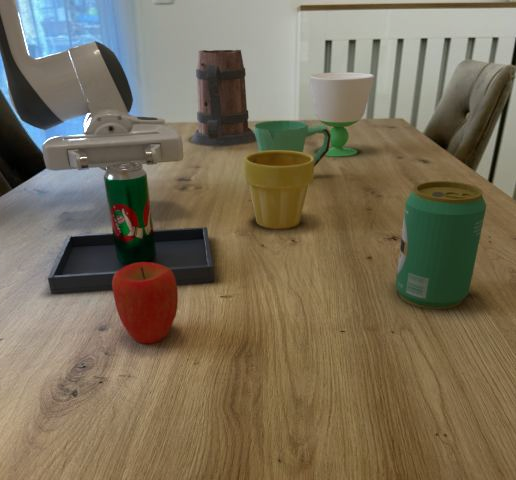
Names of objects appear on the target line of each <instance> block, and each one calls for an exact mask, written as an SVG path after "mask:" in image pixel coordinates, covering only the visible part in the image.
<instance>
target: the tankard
mask: <svg viewBox="0 0 516 480" xmlns="http://www.w3.org/2000/svg"><path fill="white" fill-rule="evenodd" d="M246 74H247V73H246V68H245V66H244V61H243V55H242V50H241V49H213V50H207V49H206V50H205V49H203V50H198V51H197V64H196V69H195V78H196V83H197V84H196V86H197V87H196V90H197V91H196V92H197V112H196V120H197V123H198V124H197V125H198V126H197V127H198V129H196V130H195V132H194V134H193V136H192V137H191V139H190V141H191V142H192V143H193V144H198V145H204V146H216V147H217V146H218V147H219V146H221V147H223V146H238V145H244V144H248V143H252V142H254V141H257V140H256V136H255V133H254V131H253V130H252V128H250V127H249V116H250V115H249V110H248V107H247V106H248V105H247V92H246V91H247V89H246Z"/></svg>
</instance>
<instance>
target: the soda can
mask: <svg viewBox="0 0 516 480" xmlns="http://www.w3.org/2000/svg"><path fill="white" fill-rule="evenodd" d="M143 167H144V166H143V164H140V163H136V162H120V163H114V164H110V165H108V166H106V168H105V169H106V171H105V173H104V175H103V181H104V182H103V183H104V187H105V194H106V200H107V206H108V212H109V219H110V226H111V231H112V233H113V238H114V244H115V250H116V256H117V260H118V261H119V262H120V263H122V264H123V265H126V266H127V265H130V264H133V263H139V262H152V261H153V260H154V259H155V257H156V246H155V238H154V230H155V229H154V221H153V214H152V207H151V200H150V199H151V198H150V191H149V183H148V182H149V181H148V174H147V172H146V170H145V169H144V168H143Z"/></svg>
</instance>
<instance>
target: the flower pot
mask: <svg viewBox="0 0 516 480" xmlns="http://www.w3.org/2000/svg"><path fill="white" fill-rule="evenodd" d="M314 157H315V156H313V155H311V154H309V153H306V152H304V151H303V152H298V151H288V150H268V151H260V152H259V151H255V152H251V153H248V154H247V155H244V158H243V176H244V181H245V183H246V184H248V187H249V192H250V196H251V201H252V206H253V211H254V216H255V221H256V223H257V225H258V226H261V227H263V228H266V229H271V230H283V229H291V228H294V227H296V226H298V225H299V224H300V221H301V216H302V213H303V209H304V204H305V200H306V197H307V193H308V188H309V186H310V185H311V184H312V183H313V181H314V175H315V174H314V173H315V167H314Z"/></svg>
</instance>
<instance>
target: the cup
mask: <svg viewBox="0 0 516 480" xmlns="http://www.w3.org/2000/svg"><path fill="white" fill-rule="evenodd" d="M374 79H375V75H374V74H373V73H368V72H367V73H366V72H349V71H347V72H346V71H345V72H344V71H342V72H341V71H340V72H339V71H338V72H320V73H314V74H311V75H309V82H310V84H309V85H310V90H311V96H312V102H313V110H314V115H315V116H316V118H317V120H318V121H319V122H320V123H321V124H323V125H325V126H327V127H332V128H330V130H329V131H330V132H331V138H330V144H329V145H330V146H329V150H328V152H327V153H326V154H325V155H324V157H335V158H340V157H342V158H343V157H351V156H354V155H357V154H358V150H357V149H355V148H351V147H347V146H345V145H346V144H347V143H348V141H349V140H348V139H349V132H348V130H347V129H346V127H350V126H352V125H354V124H357V123H358V122H359V121H360V120H362V118H363V117H364V115H365V113H366V109H367V105H368V102H369V97H370V94H371V90H372V86H373V82H374ZM344 146H345V147H344ZM319 150H320V148H319V149H318V150H317V152H316V153H318V151H319Z"/></svg>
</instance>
